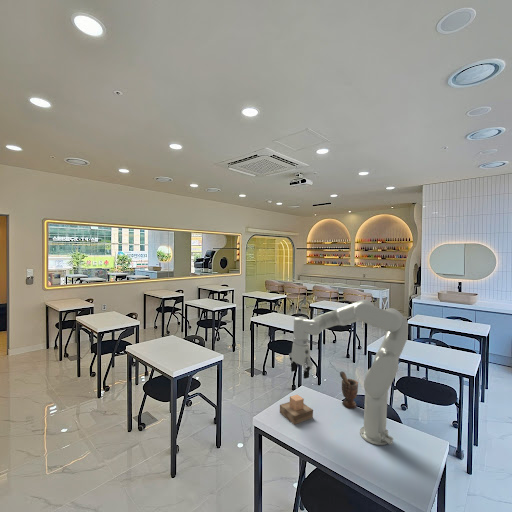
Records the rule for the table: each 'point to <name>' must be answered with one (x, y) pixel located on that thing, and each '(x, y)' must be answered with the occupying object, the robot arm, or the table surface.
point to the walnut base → (296, 413)
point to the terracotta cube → (296, 402)
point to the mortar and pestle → (349, 391)
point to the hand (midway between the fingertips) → (299, 374)
